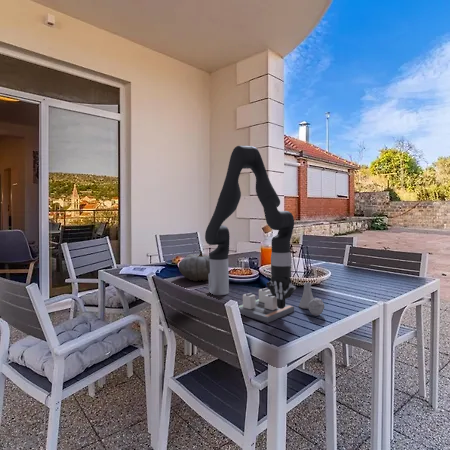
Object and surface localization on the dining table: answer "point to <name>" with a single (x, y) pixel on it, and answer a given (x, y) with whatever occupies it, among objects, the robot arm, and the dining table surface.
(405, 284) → the dining table surface
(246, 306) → the breaker
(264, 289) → the breaker
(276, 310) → the square grey tray
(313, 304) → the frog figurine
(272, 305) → the tripped breaker
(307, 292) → the flask
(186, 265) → the gourd
